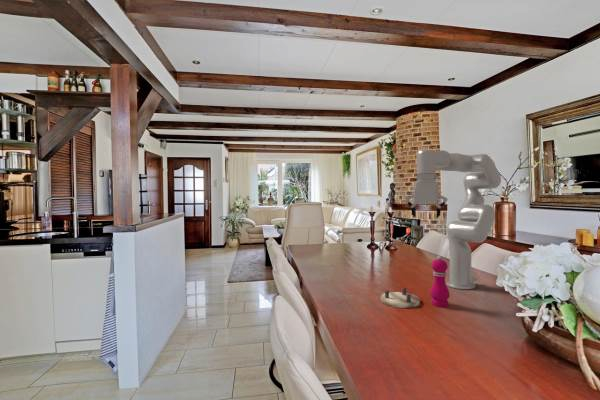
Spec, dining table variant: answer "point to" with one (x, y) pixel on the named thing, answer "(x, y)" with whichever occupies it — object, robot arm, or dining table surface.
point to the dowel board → (400, 299)
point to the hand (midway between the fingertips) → (425, 217)
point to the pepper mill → (439, 283)
